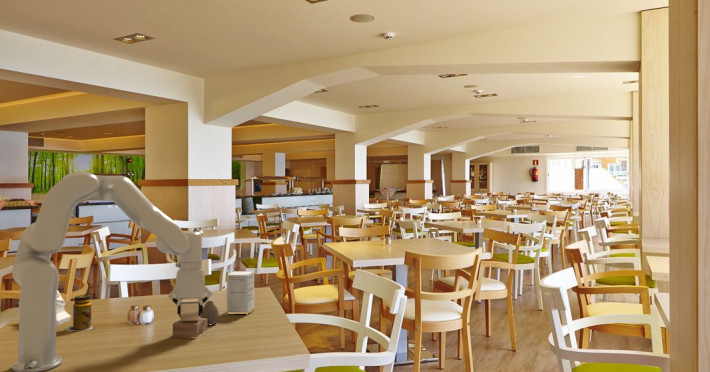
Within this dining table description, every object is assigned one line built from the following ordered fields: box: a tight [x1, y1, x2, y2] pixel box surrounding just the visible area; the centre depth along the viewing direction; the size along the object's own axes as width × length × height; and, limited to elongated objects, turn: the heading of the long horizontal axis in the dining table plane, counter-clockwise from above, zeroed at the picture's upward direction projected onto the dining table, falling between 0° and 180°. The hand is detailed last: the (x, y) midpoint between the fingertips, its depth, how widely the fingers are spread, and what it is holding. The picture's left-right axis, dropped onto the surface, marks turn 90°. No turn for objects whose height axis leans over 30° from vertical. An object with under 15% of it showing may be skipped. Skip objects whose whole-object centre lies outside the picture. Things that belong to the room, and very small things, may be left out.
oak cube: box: [180, 299, 200, 321], centre depth 188 cm, size 6×6×6 cm
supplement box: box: [226, 270, 255, 313], centre depth 221 cm, size 10×9×17 cm
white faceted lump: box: [56, 290, 72, 326], centre depth 204 cm, size 12×15×14 cm
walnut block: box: [172, 317, 208, 338], centre depth 188 cm, size 9×9×5 cm
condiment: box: [65, 294, 94, 333], centre depth 195 cm, size 7×8×12 cm
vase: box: [199, 300, 220, 324], centre depth 202 cm, size 7×7×9 cm
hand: (190, 315), depth 188 cm, fingers closed on oak cube, 5 cm apart
